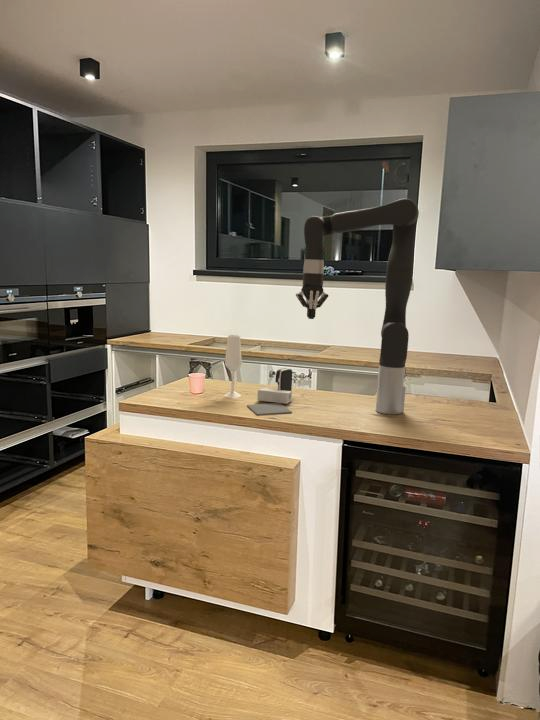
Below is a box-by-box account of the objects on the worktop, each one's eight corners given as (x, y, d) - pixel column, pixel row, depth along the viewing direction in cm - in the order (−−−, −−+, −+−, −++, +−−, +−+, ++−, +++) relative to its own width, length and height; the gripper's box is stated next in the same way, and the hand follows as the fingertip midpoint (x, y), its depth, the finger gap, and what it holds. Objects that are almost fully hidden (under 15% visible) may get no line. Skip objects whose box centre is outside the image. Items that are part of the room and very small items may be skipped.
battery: (284, 394, 212) (285, 366, 210) (292, 396, 209) (293, 368, 207) (273, 397, 207) (274, 369, 205) (280, 399, 204) (281, 370, 202)
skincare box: (291, 402, 201) (262, 398, 205) (292, 391, 201) (262, 387, 205) (287, 404, 196) (256, 400, 199) (287, 393, 195) (257, 389, 199)
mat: (279, 404, 197) (279, 402, 197) (291, 413, 186) (291, 411, 186) (247, 406, 193) (247, 404, 193) (257, 415, 182) (257, 414, 182)
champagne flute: (242, 394, 210) (243, 334, 206) (239, 398, 204) (241, 337, 199) (225, 393, 211) (227, 334, 206) (222, 397, 204) (223, 336, 200)
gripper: (325, 272, 199) (322, 317, 203) (293, 271, 195) (290, 317, 198) (334, 273, 192) (331, 319, 196) (301, 272, 188) (298, 319, 191)
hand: (310, 318), depth 197 cm, fingers closed
